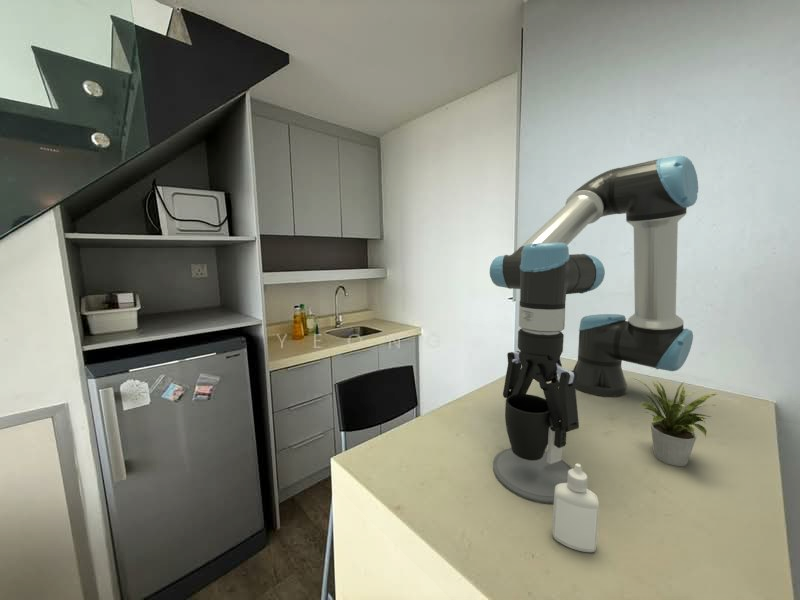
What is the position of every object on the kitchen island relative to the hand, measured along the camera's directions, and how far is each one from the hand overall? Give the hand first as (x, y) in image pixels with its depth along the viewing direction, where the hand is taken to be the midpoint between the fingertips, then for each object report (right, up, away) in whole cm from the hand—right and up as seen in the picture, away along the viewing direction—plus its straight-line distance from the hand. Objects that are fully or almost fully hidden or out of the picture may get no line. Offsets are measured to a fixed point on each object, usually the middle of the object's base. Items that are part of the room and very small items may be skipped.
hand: (534, 447), depth 60 cm
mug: (0, 0, 0) cm, 0 cm away
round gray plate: (0, -5, +1) cm, 5 cm away
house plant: (+29, -5, +6) cm, 29 cm away
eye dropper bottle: (0, -8, -14) cm, 16 cm away
